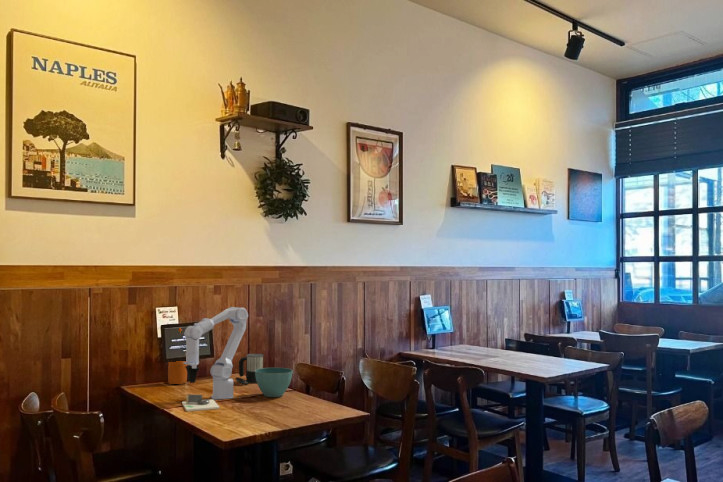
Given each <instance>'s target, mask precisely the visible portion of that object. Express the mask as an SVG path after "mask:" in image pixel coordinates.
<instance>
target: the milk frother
mask: <svg viewBox="0 0 723 482" xmlns="http://www.w3.org/2000/svg"><path fill="white" fill-rule="evenodd" d="M245 362H246V369H245V367H244V364H245ZM263 366H264V354H262V353H247V354H246V356H243V357H241V358H240V359H239V361H238V375H239V377H235V378H234V379H235V381H236V382H238V383H239V384H241V385H242V386H244V385H249V384H257V381H256V376H255V370H257V369H262V368H264V367H263ZM244 370H245V371H244ZM245 373H246V374H245ZM244 375H245V379H243V378H241V377H244Z"/></svg>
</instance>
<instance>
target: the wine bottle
mask: <svg viewBox="0 0 723 482" xmlns="http://www.w3.org/2000/svg"><path fill="white" fill-rule="evenodd" d="M178 328H179V330H178V331H180V333H181V331H182V332H183V329H181V328H182V327H178ZM183 362H186V361H176V362H169V361H168V365H167V366H168V368H167V369H168V371H167V373H168V374H167V377H168V379H167V380H168V381H167V382H168V384H169V385H171V384H181V385H184V384H183V383H185V384H186V383H187V381H188V373H187V370H186V368H185V366H188V365H187V364H183Z"/></svg>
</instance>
